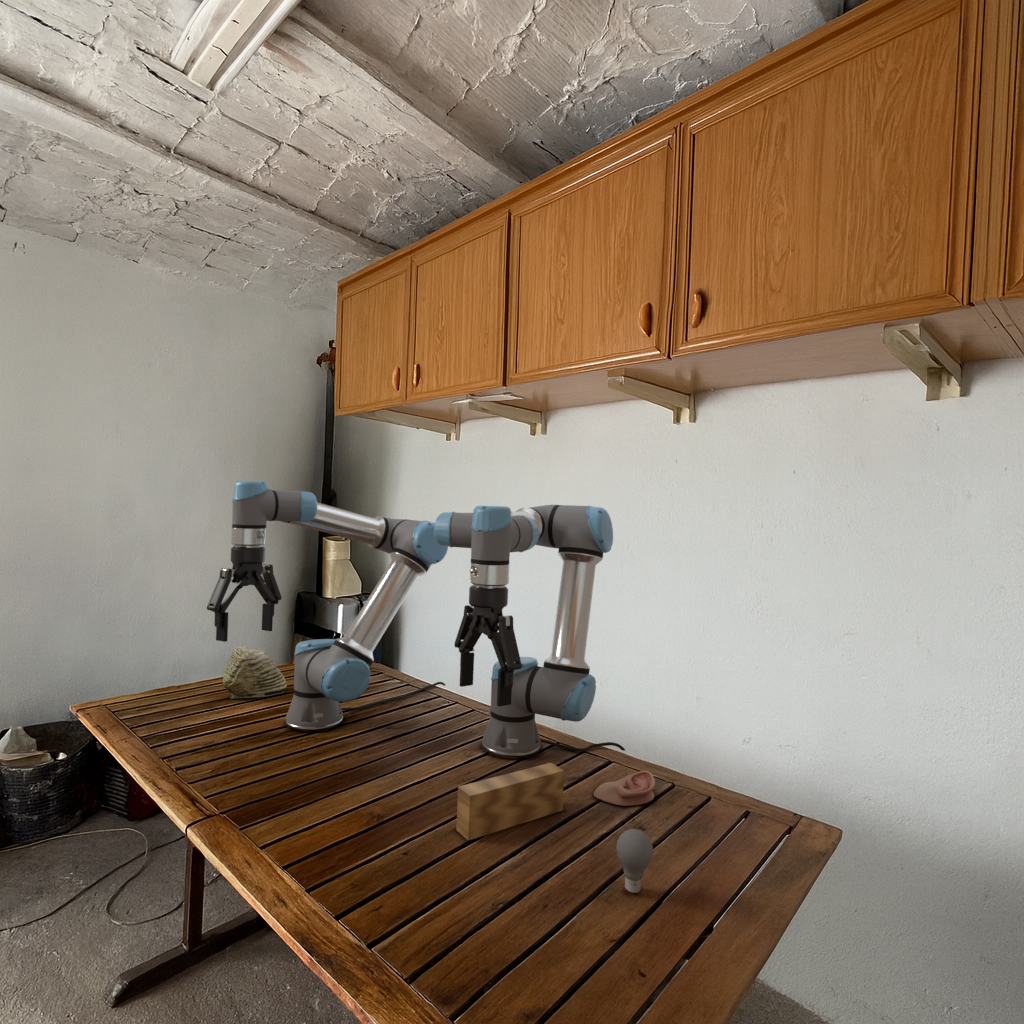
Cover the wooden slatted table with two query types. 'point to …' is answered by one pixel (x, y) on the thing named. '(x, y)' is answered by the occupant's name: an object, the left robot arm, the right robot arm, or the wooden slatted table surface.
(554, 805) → the bar
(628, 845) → the light bulb
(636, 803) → the anatomical model
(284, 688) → the fossil
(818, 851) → the wooden slatted table surface
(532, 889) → the wooden slatted table surface
